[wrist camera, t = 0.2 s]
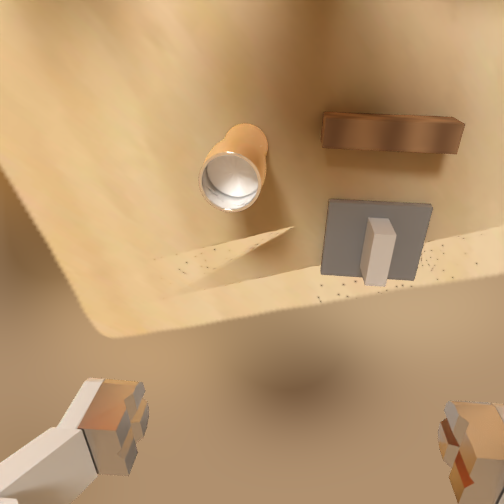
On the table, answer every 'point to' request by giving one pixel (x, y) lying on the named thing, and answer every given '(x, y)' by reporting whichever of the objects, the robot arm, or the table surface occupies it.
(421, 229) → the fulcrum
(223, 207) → the beer glass
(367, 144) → the beam
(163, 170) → the table surface
